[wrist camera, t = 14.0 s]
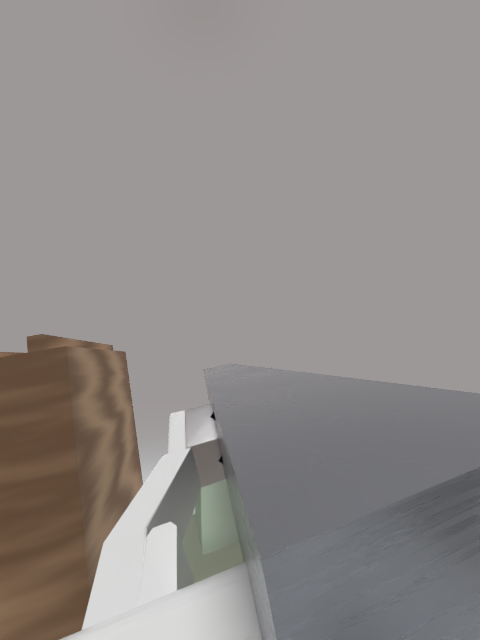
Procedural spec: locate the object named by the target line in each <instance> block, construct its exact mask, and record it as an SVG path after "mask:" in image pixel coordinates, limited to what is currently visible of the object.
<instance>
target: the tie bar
mask: <svg viewBox="0 0 480 640" xmlns="http://www.w3.org/2000/svg"><path fill="white" fill-rule="evenodd" d="M204 376H205V380H206V386H207V392H208V397H209V402H210V404H212V406H213V411H214V416H215V421H216V425H217V430H218V435H219V440H220V446H221V452H222V459H223V464H224V469H225V475H226V482H227V487H228V491H229V496H230V501H231V505H232V510H233V515H234V519H235V524H236V529H237V533H238V538H239V543H240V547H241V552H242V557H243V561H244V562H246V566H247V571H248V575H249V580H250V585H251V589H252V594H253V599H254V603H255V608H256V613H257V618H258V622H259V627H260V632H261V636H262V640H480V394H478V393H470V392H461V391H453V390H445V389H437V388H428V387H420V386H412V385H404V384H396V383H387V382H379V381H371V380H362V379H354V378H346V377H338V376H330V375H321V374H312V373H305V372H296V371H288V370H279V369H272V368H263V367H255V366H246V365H238V364H227V365H222V366H218V367H214V368H209V369H204Z"/></svg>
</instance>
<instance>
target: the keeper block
mask: <svg viewBox="0 0 480 640" xmlns="http://www.w3.org/2000/svg"><path fill="white" fill-rule="evenodd" d="M182 543H183V546H184V549H185V553H186V556H187V559H188V562H189V565H190V568H191V571H192V574H193V577H194V583H196V582H199V581H201V580H204V579H206V578H208V577H211V576H213V575H216V574H218V573H220V572H223V571H225V570H228V569H230V568H232V567H235V566H237V565H240V564H242V563H244V561H243V557H242V552H241V547H240V543H239V538H238V533H237V529H236V524H235V519H234V515H233V510H232V505H231V501H230V496H229V491H228V487H227V482H226V479H224V480H222V481H219V482H216V483H213V484H211V485H208V486H205V487H202V488H201V492H200V495H199V498H198V500H197V503H196V506H195V509H194V511H193V514H192V517H191V519H190V522H189V525H188V528H187V530H186V533H185V536H184V538H183V541H182Z"/></svg>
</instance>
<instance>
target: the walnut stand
mask: <svg viewBox="0 0 480 640" xmlns="http://www.w3.org/2000/svg"><path fill="white" fill-rule="evenodd" d="M27 347H28V353H13V352H0V640H59V639H62V638H64V637H67V636H69V635H71V634H74V633H76V632H79V631H81V630H82V627H83V623H84V619H85V615H86V611H87V607H88V603H89V599H90V595H91V591H92V587H93V583H94V579H95V575H96V571H97V567H98V563H99V559H100V555H101V551H102V547H103V543H104V541H105V540H106V538H107V537H108V535H109V534H110V533H111V531H112V530H113V528H114V527H115V525H116V524H117V522H118V521H119V519H120V518H121V516H122V515H123V513H124V512H125V510H126V509H127V508H128V506H129V505H130V503H131V502H132V500H133V499H134V497H135V496H136V494H137V493H138V491H139V490H140V488H141V487H142V485H143V481H142V474H141V466H140V459H139V451H138V444H137V436H136V428H135V421H134V413H133V406H132V398H131V390H130V383H129V375H128V368H127V360H126V353H125V352H121V351H113V347H112V345H107V344H100V343H94V342H87V341H81V340H75V339H69V338H63V337H56V336H50V335H44V334H40V335H34V336H28V337H27Z"/></svg>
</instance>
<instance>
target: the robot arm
mask: <svg viewBox="0 0 480 640" xmlns="http://www.w3.org/2000/svg"><path fill="white" fill-rule="evenodd" d="M224 479H226V475H225V469H224V464H223V459H222V452H221V446H220V440H219V435H218V430H217V425H216V421H215V416H214V411H213V406H212V404H209V405H205V406H200V407H196V408H191V409H187V410H184V411H180V412H175V413H171V414H170V417H169V437H168V454H166V455H163V456H162V458H161V459H160V460H159V462H158V463H157V465H156V466H155V468H154V469H153V471H152V472H151V474H150V475H149V477H148V478H147V480H146V481H145V483H144V484H143V485H142V487H141V488H140V490H139V491H138V493H137V494H136V496H135V497H134V499H133V500H132V502H131V503H130V505H129V506H128V508H127V509H126V510H125V512H124V513H123V515H122V516H121V518H120V519H119V521H118V522H117V524H116V525H115V527H114V528H113V530H112V531H111V533H110V534H109V535H108V537H107V538H106V540H105V541H104V543H103V547H102V551H101V555H100V559H99V563H98V567H97V571H96V575H95V579H94V583H93V587H92V591H91V595H90V599H89V603H88V607H87V611H86V615H85V619H84V623H83V627H82V630H81V631H79V632H76V633H74V634H71V635H69V636H67V637H64V638H62V639H59V640H262V636H261V632H260V627H259V622H258V618H257V613H256V608H255V603H254V599H253V594H252V589H251V585H250V580H249V575H248V571H247V566H246V562H244V563H242V564H240V565H237V566H235V567H232V568H230V569H228V570H225V571H223V572H220V573H218V574H216V575H213V576H211V577H208V578H206V579H204V580H201V581H199V582H196V583H194V577H193V574H192V571H191V568H190V565H189V562H188V559H187V556H186V553H185V549H184V546H183V543H182V541H183V538H184V536H185V533H186V530H187V528H188V525H189V522H190V519H191V517H192V514H193V511H194V509H195V506H196V503H197V500H198V498H199V495H200V492H201V488H202V487H205V486H208V485H211V484H213V483H216V482H219V481H222V480H224Z"/></svg>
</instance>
